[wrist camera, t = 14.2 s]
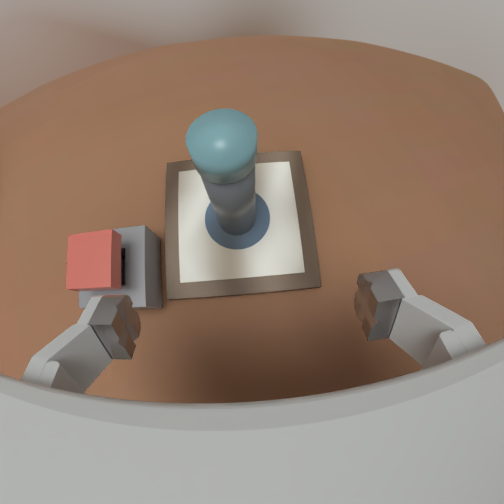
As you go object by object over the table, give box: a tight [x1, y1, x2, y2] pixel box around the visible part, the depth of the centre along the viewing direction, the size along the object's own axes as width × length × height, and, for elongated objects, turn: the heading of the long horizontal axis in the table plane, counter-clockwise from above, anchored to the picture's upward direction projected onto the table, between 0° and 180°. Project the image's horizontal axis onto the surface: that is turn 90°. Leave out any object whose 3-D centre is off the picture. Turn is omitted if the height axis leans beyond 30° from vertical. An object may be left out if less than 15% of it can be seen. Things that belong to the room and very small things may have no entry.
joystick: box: [186, 109, 257, 235], centre depth 18 cm, size 3×3×12 cm
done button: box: [66, 229, 122, 291], centre depth 19 cm, size 4×4×4 cm
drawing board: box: [165, 151, 321, 300], centre depth 25 cm, size 13×13×1 cm
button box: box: [79, 225, 162, 309], centre depth 23 cm, size 6×6×4 cm
